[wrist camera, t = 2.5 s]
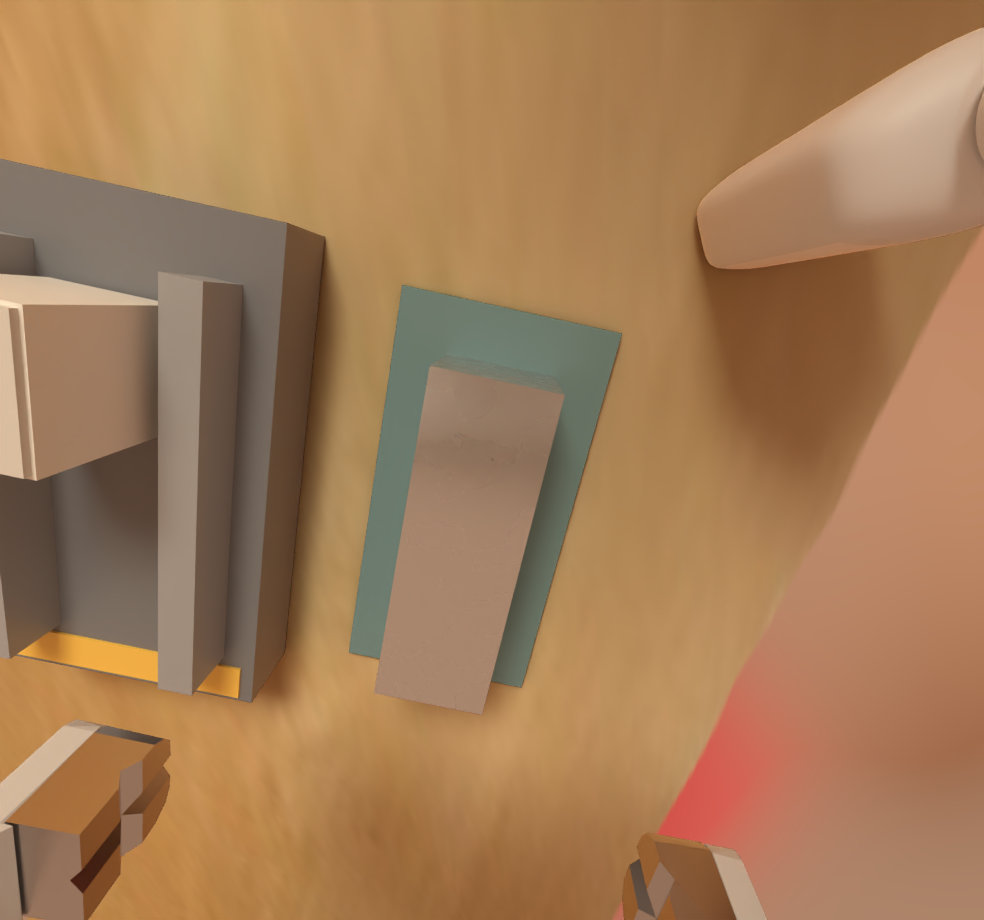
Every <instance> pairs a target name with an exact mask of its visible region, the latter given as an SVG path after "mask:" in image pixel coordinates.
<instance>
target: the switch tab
mask: <svg viewBox="0 0 984 920" xmlns="http://www.w3.org/2000/svg"><path fill="white" fill-rule="evenodd" d="M156 437H158V301H156V300H151V299H147V298H142V297H138V296H133V295H129V294H124V293H119V292H115V291H110V290H106V289H101V288H96V287H92V286H87V285H83V284H78V283H74V282H69V281H64V280H60V279H55V278H51V277H39V276H24V275H9V274H0V474H3V475H7V476H12V477H17V478H22V479H30V480H35V481H38V480H40V479H43V478H46V477H49V476H51V475H54V474H57V473H60V472H62V471H65V470H68V469H71V468H74V467H76V466H79V465H82V464H85V463H87V462H90V461H93V460H96V459H98V458H101V457H104V456H107V455H109V454H112V453H115V452H118V451H121V450H123V449H126V448H129V447H132V446H134V445H137V444H140V443H143V442H145V441H148V440H151V439H154V438H156Z"/></svg>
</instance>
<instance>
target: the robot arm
mask: <svg viewBox="0 0 984 920" xmlns="http://www.w3.org/2000/svg"><path fill="white" fill-rule="evenodd" d="M170 756H171V750H170V740H167V739H163V738H158V737H154V736H150V735H145V734H141V733H136V732H132V731H128V730H123V729H119V728H114V727H110V726H106V725H101V724H96V723H91V722H86V721H82V720H77V719H76V720H74V721H72V722H70V723H68V724H66V725H65V726H63V727H61V728H60V729H59V730H58V731H57V732H56V733H55V734H54V735H53V736H51V737H50V738H49V739H48V740H47V741H46V742H45V743H44V744H43V745H42V746H40V747H39V748H38V749H37V750H36V751H35V752H34V753H33V754H32V755H31V756H29V757H28V758H27V759H26V760H25V761H24V762H23V763H22V764H21V765H20V766H19V767H17V768H16V769H15V770H14V771H13V772H12V773H11V774H10V775H9V776H8V777H6V778H5V779H4V780H3V781H2V782H1V783H0V920H23V917H22V916H25V917H31V918H38V919H45V920H88V919H89V918H90V917H91V915H92V914H93V912H94V911H95V909H96V908H97V907H98V905H99V904H100V902H101V901H102V899H103V898H104V897H105V895H106V894H107V892H108V891H109V890H110V888H111V887H112V885H113V884H114V882H115V881H116V880H117V878H118V877H119V875H120V873H121V856H123V855H124V854H126V853H127V852H129V851H130V850H132V849H133V848H135V847H137V846H138V845H140V844H141V843H142V842H143V841H144V840H145V838H146V837H147V835H148V834H149V832H150V831H151V829H152V828H153V826H154V825H155V823H156V821H157V819H158V817H159V815H160V813H161V811H162V809H163V807H164V805H165V803H166V799H167V796H168V792H169V788H170V775H169V773H168V772H167V771H166V769H165V768H164V767H163V765H164V763H165V762H166V761H167V759H168V758H169V757H170ZM637 849H638V854H639V858H640V859H639V860H637V861H636V862H634V863H632V864H631V865H629V867H628V870H627V873H626V876H625V879H624V887H623V898H622V900H623V914H624V920H767V918H766V915H765V913H764V911H763V909H762V906H761V904H760V901H759V899H758V897H757V895H756V892H755V890H754V888H753V885H752V883H751V881H750V878H749V876H748V874H747V871H746V869H745V867H744V865H743V862H742V860H741V858H740V856H739V855H738V854H737V853H736V851H735V850H732V849H729V848H724V847H719V846H714V845H708V844H702V843H701V842H697V841H691V840H686V839H680V838H675V837H669V836H664V835H658V834H653V833H646V834H644V835H643V836H641V839H640V841H639V843H638V846H637Z"/></svg>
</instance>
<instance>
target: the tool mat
mask: <svg viewBox="0 0 984 920" xmlns="http://www.w3.org/2000/svg"><path fill="white" fill-rule="evenodd" d="M621 336H622V333H617V332H613V331H608V330H604V329H599V328H595V327H590V326H586V325H581V324H577V323H572V322H568V321H563V320H559V319H554V318H550V317H545V316H541V315H536V314H532V313H527V312H523V311H518V310H514V309H509V308H505V307H500V306H496V305H491V304H487V303H482V302H478V301H473V300H469V299H464V298H460V297H455V296H451V295H446V294H442V293H437V292H432V291H428V290H423V289H419V288H414V287H410V286H405V285H402V291H401V298H400V305H399V311H398V318H397V325H396V332H395V339H394V346H393V353H392V359H391V366H390V373H389V380H388V387H387V394H386V401H385V408H384V414H383V421H382V428H381V435H380V442H379V449H378V456H377V462H376V469H375V476H374V483H373V490H372V497H371V504H370V511H369V517H368V524H367V531H366V538H365V545H364V552H363V559H362V565H361V572H360V579H359V586H358V593H357V600H356V607H355V614H354V620H353V627H352V634H351V641H350V648H349V653H354V654H359V655H364V656H369V657H374V658H379V659H380V655H381V650H382V644H383V638H384V632H385V626H386V620H387V614H388V608H389V602H390V597H391V591H392V585H393V579H394V573H395V567H396V561H397V555H398V550H399V544H400V538H401V532H402V526H403V520H404V514H405V508H406V502H407V497H408V491H409V485H410V479H411V473H412V467H413V461H414V455H415V450H416V444H417V438H418V432H419V426H420V420H421V414H422V408H423V403H424V397H425V391H426V385H427V379H428V373H429V367H430V365H431V364H433V363H434V362H436V361H437V360H439V359H440V358H442V357H443V356H444V355H446V354H447V353H448V354H453V355H457V356H462V357H467V358H471V359H476V360H480V361H485V362H489V363H494V364H499V365H503V366H508V367H512V368H517V369H521V370H526V371H531V372H535V373H540V374H544V375H549V376H553V377H554V378H555V379H556V381H557V383H558V384H559V386H560V388H561V389H562V391H563V393H564V394H565V396H564V400H563V404H562V408H561V412H560V416H559V420H558V423H557V427H556V431H555V435H554V439H553V443H552V447H551V450H550V454H549V458H548V462H547V466H546V470H545V474H544V477H543V481H542V485H541V489H540V493H539V497H538V501H537V504H536V508H535V512H534V516H533V520H532V524H531V528H530V532H529V535H528V539H527V543H526V547H525V551H524V555H523V559H522V562H521V566H520V570H519V574H518V578H517V582H516V586H515V589H514V593H513V597H512V601H511V605H510V609H509V613H508V616H507V620H506V624H505V628H504V632H503V636H502V640H501V643H500V647H499V651H498V655H497V659H496V663H495V667H494V671H493V674H492V678H491V681H492V682H496V683H501V684H506V685H511V686H516V687H522V684H523V680H524V677H525V673H526V670H527V666H528V663H529V659H530V656H531V652H532V649H533V645H534V642H535V638H536V635H537V631H538V628H539V624H540V621H541V617H542V613H543V610H544V606H545V603H546V599H547V596H548V592H549V589H550V585H551V582H552V578H553V575H554V571H555V568H556V564H557V561H558V557H559V554H560V550H561V547H562V543H563V540H564V536H565V533H566V529H567V526H568V522H569V518H570V515H571V511H572V508H573V504H574V501H575V497H576V494H577V490H578V487H579V483H580V480H581V476H582V473H583V469H584V466H585V462H586V459H587V455H588V452H589V448H590V445H591V441H592V438H593V434H594V431H595V427H596V423H597V420H598V416H599V413H600V409H601V406H602V402H603V399H604V395H605V392H606V388H607V385H608V381H609V378H610V374H611V371H612V367H613V364H614V360H615V357H616V353H617V350H618V346H619V343H620V339H621Z"/></svg>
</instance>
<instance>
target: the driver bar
mask: <svg viewBox="0 0 984 920" xmlns="http://www.w3.org/2000/svg"><path fill="white" fill-rule="evenodd" d="M564 396H565V394H564V393H563V391H562V389H561V388H560V386H559V384H558V383H557V381H556V379H555V378H554V377H553V376H549V375H544V374H540V373H535V372H531V371H526V370H521V369H517V368H512V367H508V366H503V365H499V364H494V363H489V362H485V361H480V360H476V359H471V358H467V357H462V356H457V355H453V354H448V353H447V354H446V355H444V356H443V357H442V358H440V359H439V360H437V361H436V362H434V363H433V364H431V365H430V367H429V373H428V379H427V385H426V391H425V397H424V403H423V408H422V414H421V420H420V426H419V432H418V438H417V444H416V450H415V455H414V461H413V467H412V473H411V479H410V485H409V491H408V497H407V502H406V508H405V514H404V520H403V526H402V532H401V538H400V544H399V550H398V555H397V561H396V567H395V573H394V579H393V585H392V591H391V597H390V602H389V608H388V614H387V620H386V626H385V632H384V638H383V644H382V650H381V655H380V661H379V667H378V673H377V679H376V685H375V691H374V693H376V694H381V695H386V696H391V697H396V698H401V699H405V700H410V701H415V702H420V703H425V704H430V705H435V706H440V707H445V708H450V709H455V710H460V711H465V712H470V713H475V714H480V715H482V713H483V709H484V705H485V701H486V698H487V694H488V690H489V686H490V682H491V678H492V674H493V671H494V667H495V663H496V659H497V655H498V651H499V647H500V643H501V640H502V636H503V632H504V628H505V624H506V620H507V616H508V613H509V609H510V605H511V601H512V597H513V593H514V589H515V586H516V582H517V578H518V574H519V570H520V566H521V562H522V559H523V555H524V551H525V547H526V543H527V539H528V535H529V532H530V528H531V524H532V520H533V516H534V512H535V508H536V504H537V501H538V497H539V493H540V489H541V485H542V481H543V477H544V474H545V470H546V466H547V462H548V458H549V454H550V450H551V447H552V443H553V439H554V435H555V431H556V427H557V423H558V420H559V416H560V412H561V408H562V404H563V400H564Z"/></svg>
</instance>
